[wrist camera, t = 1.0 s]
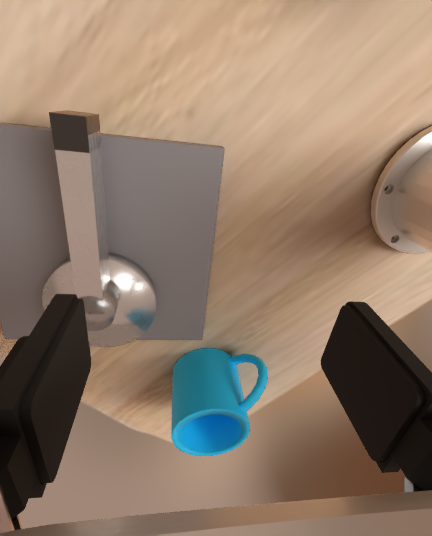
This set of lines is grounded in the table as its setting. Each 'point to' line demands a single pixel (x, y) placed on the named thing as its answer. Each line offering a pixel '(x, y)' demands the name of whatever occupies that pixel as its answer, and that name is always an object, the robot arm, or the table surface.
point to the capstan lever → (94, 241)
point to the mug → (212, 401)
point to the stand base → (111, 223)
